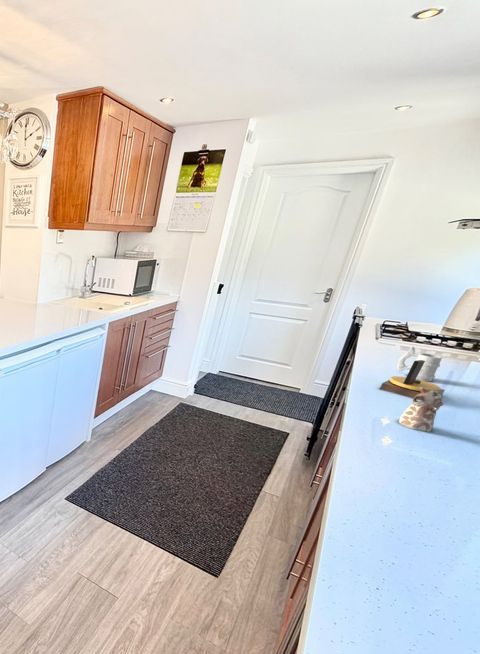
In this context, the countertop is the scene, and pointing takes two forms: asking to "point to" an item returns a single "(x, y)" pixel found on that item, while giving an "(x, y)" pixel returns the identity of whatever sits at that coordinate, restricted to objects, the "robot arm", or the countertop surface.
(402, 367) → the mug
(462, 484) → the countertop surface
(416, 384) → the wheel
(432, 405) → the figurine
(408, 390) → the wheel base
